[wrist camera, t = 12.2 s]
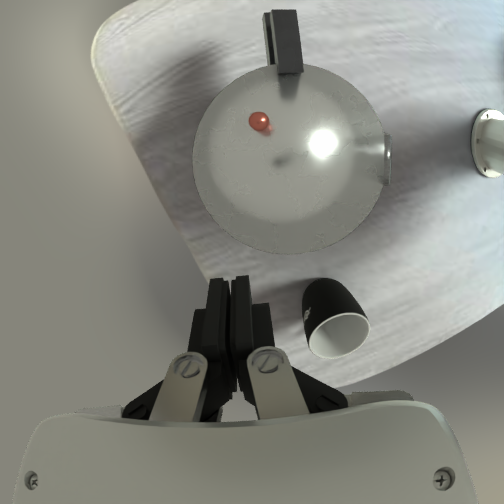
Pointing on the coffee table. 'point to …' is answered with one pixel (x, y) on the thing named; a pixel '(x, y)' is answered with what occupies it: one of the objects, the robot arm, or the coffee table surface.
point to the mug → (333, 320)
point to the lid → (290, 153)
